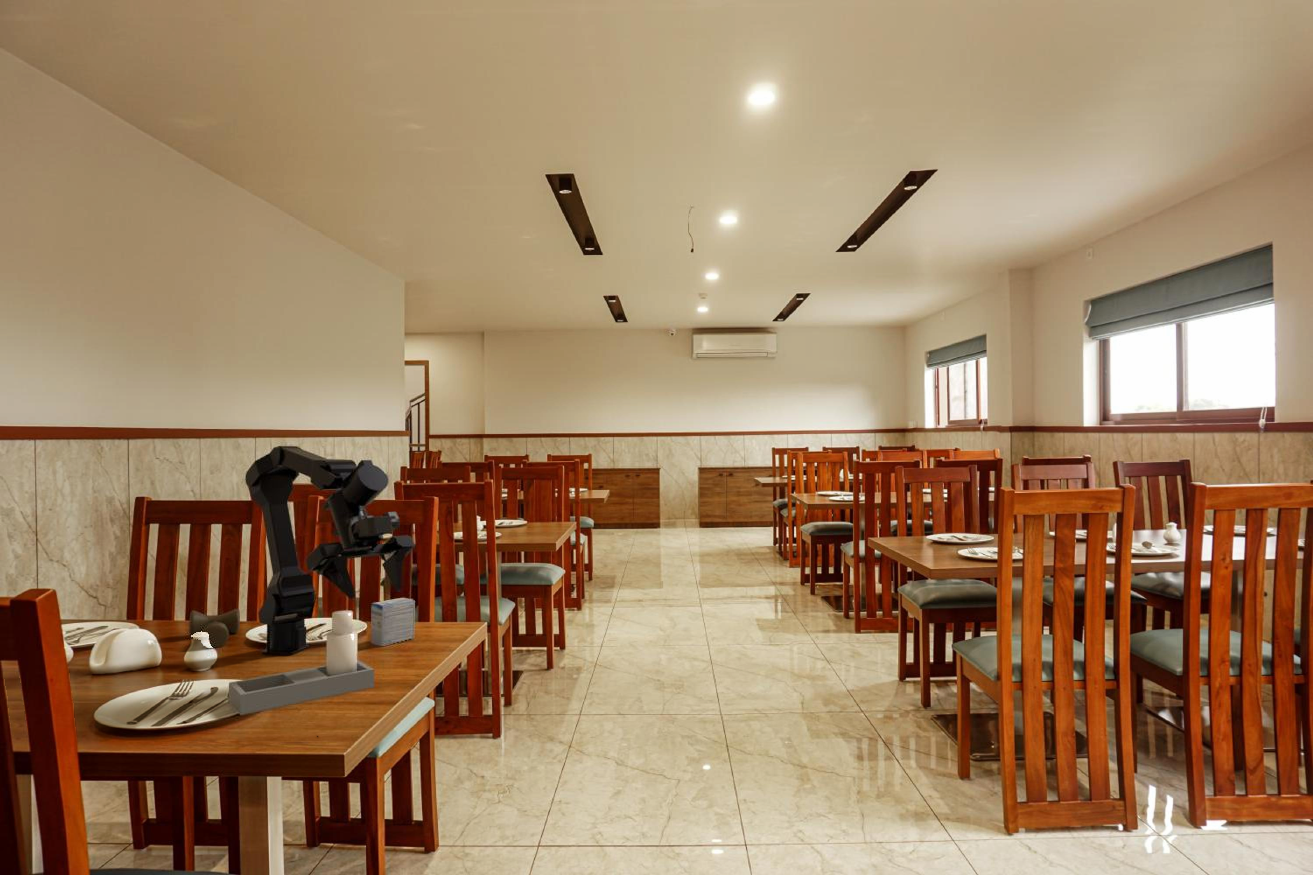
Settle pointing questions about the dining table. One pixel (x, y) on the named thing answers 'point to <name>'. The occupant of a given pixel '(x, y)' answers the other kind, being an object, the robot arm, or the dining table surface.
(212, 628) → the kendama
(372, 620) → the medicine box
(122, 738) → the dining table surface
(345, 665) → the white stepped cylinder
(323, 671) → the caddy
